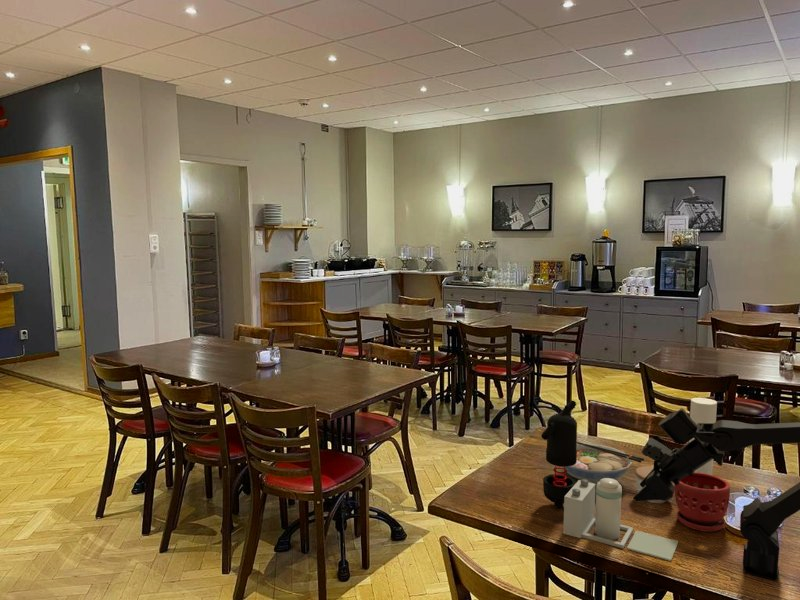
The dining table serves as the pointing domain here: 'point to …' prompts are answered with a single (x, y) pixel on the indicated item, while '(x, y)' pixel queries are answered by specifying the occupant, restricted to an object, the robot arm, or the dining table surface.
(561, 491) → the black spring figurine
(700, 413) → the cylindrical container
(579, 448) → the ramen bowl
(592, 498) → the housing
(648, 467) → the lidded jar
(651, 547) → the mat
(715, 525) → the plant pot
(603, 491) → the cartridge
